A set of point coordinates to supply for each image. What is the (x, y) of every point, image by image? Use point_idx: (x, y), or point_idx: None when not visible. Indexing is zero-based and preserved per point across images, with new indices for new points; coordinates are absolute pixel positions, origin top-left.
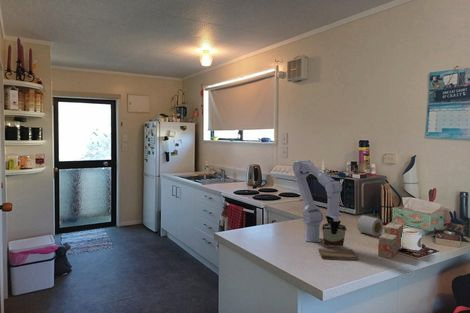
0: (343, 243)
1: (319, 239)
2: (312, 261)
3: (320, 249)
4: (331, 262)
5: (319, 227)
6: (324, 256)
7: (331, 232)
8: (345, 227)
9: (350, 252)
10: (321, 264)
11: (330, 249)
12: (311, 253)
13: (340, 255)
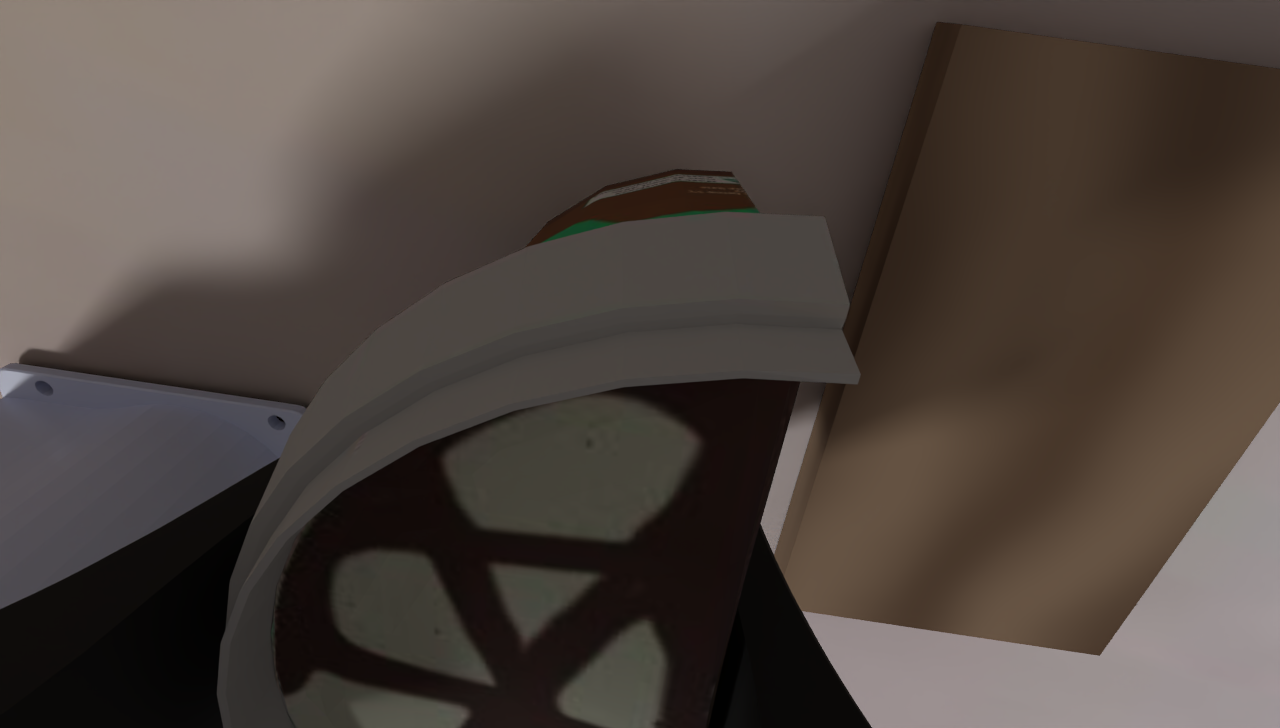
0: (735, 184)
1: (207, 410)
2: (1119, 721)
3: (832, 597)
4: (1262, 557)
5: (21, 597)
6: (1110, 621)
7: None
8: (836, 361)
9: (1146, 155)
10: (1263, 675)
11: (862, 469)
12: (838, 658)
13: (1221, 422)
